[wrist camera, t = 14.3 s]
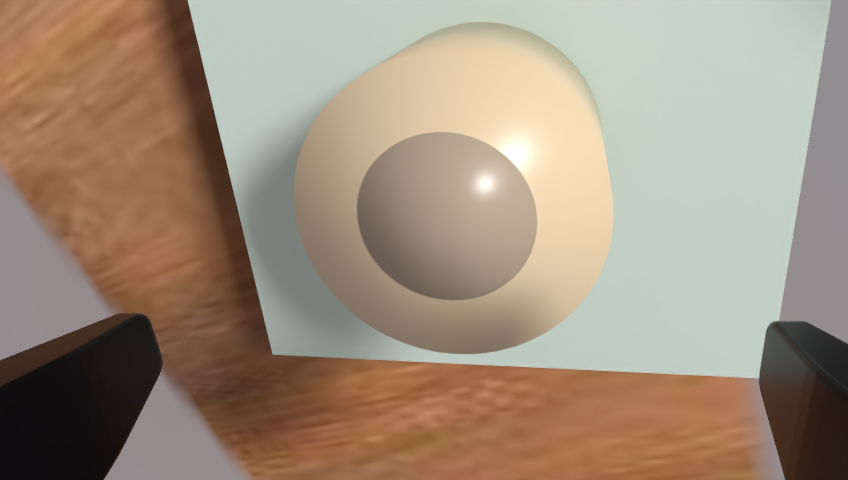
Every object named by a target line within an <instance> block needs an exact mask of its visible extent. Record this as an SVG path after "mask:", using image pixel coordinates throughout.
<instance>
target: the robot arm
mask: <svg viewBox="0 0 848 480" xmlns="http://www.w3.org/2000/svg"><path fill="white" fill-rule="evenodd" d="M161 369H162V355H161V352H160V349H159V346H158V343H157V340H156V337H155V334H154V331H153V328H152V325H151V322H150V320H149V319H148V318H147V317H146V316H145V315H143V314H138V313H121V314H116V315H114V316H111V317H109V318H106V319H104V320H101V321H99V322H96V323H94V324H91V325H88V326H86V327H84V328H81V329H79V330H76V331H74V332H71V333H68V334H66V335H63V336H61V337H58V338H56V339H53V340H51V341H48V342H46V343H43V344H40V345H38V346H35V347H33V348H30V349H28V350H25V351H23V352H20V353H18V354H15V355H13V356H10V357H7V358H5V359H2V360H0V480H104V479H105V477H106V476H107V474H108V472H109V471H110V469H111V467H112V466H113V464H114V462H115V460H116V459H117V457H118V456H119V454H120V452H121V450H122V448H123V446H124V444H125V443H126V441H127V438H128V437H129V434H130V432H131V431H132V428H133V427H134V425H135V423H136V420H137V419H138V416H139V415H140V412H141V411H142V409H143V406H144V405H145V403H146V401H147V399H148V396H149V394H150V393H151V391H152V389H153V386H154V385H155V383H156V381H157V379H158V377H159V375H160V372H161ZM759 385H760V391H761V395H762V399H763V402H764V406H765V409H766V413H767V416H768V420H769V424H770V427H771V431H772V434H773V438H774V441H775V445H776V448H777V452H778V456H779V459H780V462H781V466H782V470H783V473H784V477H785V480H848V344H847V343H845V342H843V341H841V340H840V339H838V338H836V337H834V336H832V335H830V334H828V333H827V332H825V331H823V330H821V329H819V328H817V327H815V326H813V325H811V324H810V323H808V322H804V321H773V322H771V323H770V324H769V325H768V327H767V330H766V334H765V340H764V347H763V353H762V360H761V366H760V373H759Z"/></svg>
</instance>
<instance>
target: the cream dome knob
mask: <svg viewBox="0 0 848 480" xmlns="http://www.w3.org/2000/svg"><path fill="white" fill-rule="evenodd" d="M294 209H295V216H296V223H297V226H298V230H299V234H300V237H301V241H302V243H303V246H304V248H305V251H306V253H307V255H308V258H309V260H310V261H311V263H312V265H313V267H314V269H315V270H316V272H317V274H318V275H319V277H320V278H321V279H322V281H323V282H324V284H325V285H326V287H327V288H328V289H329V290H330V291H331V293H332V294H333V295H334V296H335V297H336V298H337V299H338V300H339V301H340V303H342V304H343V305H344V306H345V307H346V308H347V309H348V310H349V311H350V312H352V313H353V314H354V315H355V316H356V317H358V318H359V319H361V320H362V321H363V322H365V323H366V324H367V325H369V326H370V327H372V328H374V329H376V330H377V331H379V332H381V333H383V334H384V335H386V336H388V337H391V338H393V339H395V340H398V341H400V342H402V343H405V344H408V345H411V346H414V347H417V348H420V349H425V350H430V351H435V352H440V353H450V354H481V353H489V352H496V351H500V350H504V349H508V348H512V347H516V346H518V345H521V344H523V343H526V342H529V341H531V340H533V339H535V338H537V337H539V336H541V335H543V334H545V333H547V332H548V331H550V330H551V329H552V328H554V327H555V326H557V325H558V324H560V323H561V322H562V321H564V320H565V319H566V318H567V317H568V316H569V315H570V314H571V313H572V312H573V311H574V310H576V309H577V308H578V306H579V305H580V304H581V303H582V301H583V300H584V299H585V298H586V297H587V295H588V294H589V293H590V291H591V289H592V288H593V286H594V284H595V283H596V281H597V279H598V278H599V276H600V273H601V271H602V269H603V266H604V264H605V261H606V259H607V255H608V252H609V248H610V244H611V240H612V231H613V221H614V215H613V197H612V190H611V184H610V177H609V171H608V164H607V157H606V151H605V144H604V138H603V131H602V125H601V120H600V115H599V110H598V107H597V104H596V101H595V98H594V96H593V93H592V92H591V90H590V88H589V86H588V84H587V82H586V80H585V79H584V77H583V76H582V74H581V73H580V71H579V70H578V69H577V67H576V66H575V65H574V64H573V63H572V62H571V61H570V60H569V59H568V57H567V56H566V55H565V54H563V53H562V52H561V51H560V50H559V49H557V48H556V47H555V46H554V45H552V44H551V43H549V42H548V41H546V40H544V39H543V38H541V37H539V36H538V35H536V34H533V33H531V32H528V31H526V30H524V29H521V28H518V27H514V26H510V25H507V24H501V23H493V22H468V23H462V24H456V25H452V26H448V27H445V28H442V29H438V30H436V31H434V32H432V33H430V34H428V35H425V36H423V37H422V38H420V39H419V40H417V41H416V42H414V43H412V44H411V45H409V46H408V47H406V48H404V49H403V50H401V51H400V52H398V53H397V54H395V55H393V56H392V57H390V58H389V59H387V60H385V61H384V62H382V63H381V64H379V65H378V66H376V67H374V68H373V69H371V70H370V71H368V72H367V73H365V74H363V75H362V76H360V77H359V78H357V79H356V80H354V81H353V82H351V83H349V84H348V85H347V86H346V87H344V88H343V89H342V90H341V91H340V92H339V93H338V94H336V95H335V96H334V97H333V98H332V99H331V100H330V101H329V103H328V104H327V105H326V106H325V107H324V108H323V110H322V111H321V112H320V113H319V115H318V116H317V118H316V120H315V121H314V123H313V124H312V126H311V128H310V129H309V131H308V133H307V136H306V138H305V140H304V142H303V145H302V147H301V150H300V154H299V157H298V161H297V165H296V171H295V178H294Z"/></svg>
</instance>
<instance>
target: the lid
mask: <svg viewBox="0 0 848 480" xmlns="http://www.w3.org/2000/svg"><path fill="white" fill-rule="evenodd" d="M831 2H832V0H188V4H189V8H190V12H191V16H192V21H193V25H194V29H195V33H196V37H197V41H198V46H199V50H200V54H201V58H202V62H203V66H204V71H205V75H206V79H207V83H208V87H209V91H210V96H211V100H212V104H213V108H214V112H215V116H216V121H217V125H218V129H219V133H220V137H221V141H222V146H223V150H224V154H225V158H226V162H227V167H228V171H229V175H230V179H231V183H232V187H233V192H234V196H235V200H236V204H237V208H238V212H239V217H240V221H241V225H242V229H243V233H244V237H245V242H246V246H247V250H248V254H249V258H250V262H251V267H252V271H253V275H254V279H255V283H256V287H257V292H258V296H259V300H260V304H261V308H262V312H263V317H264V321H265V325H266V329H267V333H268V337H269V342H270V346H271V350H272V354H273V355H291V356H311V357H332V358H353V359H373V360H394V361H414V362H435V363H456V364H476V365H497V366H517V367H538V368H559V369H579V370H600V371H620V372H641V373H662V374H682V375H703V376H723V377H744V378H759V373H760V366H761V360H762V353H763V347H764V340H765V334H766V330H767V327H768V325H769V324H770V323H771V322H773V321H779V316H780V310H781V304H782V298H783V292H784V286H785V280H786V274H787V268H788V262H789V256H790V250H791V243H792V238H793V232H794V225H795V220H796V213H797V208H798V202H799V196H800V189H801V184H802V178H803V172H804V166H805V160H806V154H807V148H808V142H809V136H810V129H811V123H812V117H813V111H814V105H815V99H816V93H817V87H818V81H819V75H820V69H821V63H822V57H823V51H824V45H825V39H826V33H827V27H828V21H829V15H830V9H831ZM468 22H493V23H501V24H507V25H510V26H514V27H518V28H521V29H524V30H526V31H528V32H531V33H533V34H536V35H538V36H539V37H541V38H543V39H544V40H546V41H548V42H549V43H551V44H552V45H554V46H555V47H556V48H557V49H559V50H560V51H561V52H562V53H563V54H565V55H566V56H567V57H568V59H569V60H570V61H571V62H572V63H573V64H574V65H575V66H576V67H577V69H578V70H579V71H580V73H581V74H582V76H583V77H584V79H585V80H586V82H587V84H588V86H589V88H590V90H591V92H592V93H593V96H594V98H595V101H596V104H597V107H598V110H599V115H600V120H601V125H602V131H603V138H604V144H605V151H606V157H607V164H608V171H609V177H610V184H611V190H612V197H613V215H614V221H613V231H612V240H611V244H610V248H609V252H608V255H607V259H606V261H605V264H604V266H603V269H602V271H601V273H600V276H599V278H598V279H597V281H596V283H595V284H594V286H593V288H592V289H591V291H590V293H589V294H588V295H587V297H586V298H585V299H584V300H583V301H582V303H581V304H580V305H579V306H578V308H577V309H576V310H574V311H573V312H572V313H571V314H570V315H569V316H568V317H567V318H566V319H565V320H564V321H562V322H561V323H560V324H558V325H557V326H555V327H554V328H552V329H551V330H550V331H548V332H547V333H545V334H543V335H541V336H539V337H537V338H535V339H533V340H531V341H529V342H526V343H523V344H521V345H518V346H516V347H512V348H508V349H504V350H500V351H496V352H489V353H481V354H450V353H440V352H435V351H430V350H425V349H420V348H417V347H414V346H411V345H408V344H405V343H402V342H400V341H398V340H395V339H393V338H391V337H388V336H386V335H384V334H383V333H381V332H379V331H377V330H376V329H374V328H372V327H370V326H369V325H367V324H366V323H365V322H363V321H362V320H361V319H359V318H358V317H356V316H355V315H354V314H353V313H352V312H350V311H349V310H348V309H347V308H346V307H345V306H344V305H343V304H342V303H340V301H339V300H338V299H337V298H336V297H335V296H334V295H333V294H332V293H331V291H330V290H329V289H328V288H327V287H326V285H325V284H324V282H323V281H322V279H321V278H320V277H319V275H318V274H317V272H316V270H315V269H314V267H313V265H312V263H311V261H310V260H309V258H308V255H307V253H306V251H305V248H304V246H303V243H302V241H301V237H300V234H299V230H298V226H297V223H296V216H295V209H294V178H295V171H296V165H297V161H298V157H299V154H300V150H301V147H302V145H303V142H304V140H305V138H306V136H307V133H308V131H309V129H310V128H311V126H312V124H313V123H314V121H315V120H316V118H317V116H318V115H319V113H320V112H321V111H322V110H323V108H324V107H325V106H326V105H327V104H328V103H329V101H330V100H331V99H332V98H333V97H334V96H335V95H336V94H338V93H339V92H340V91H341V90H342V89H343V88H344V87H346V86H347V85H348V84H349V83H351V82H353V81H354V80H356V79H357V78H359V77H360V76H362V75H363V74H365V73H367V72H368V71H370V70H371V69H373V68H374V67H376V66H378V65H379V64H381V63H382V62H384V61H385V60H387V59H389V58H390V57H392V56H393V55H395V54H397V53H398V52H400V51H401V50H403V49H404V48H406V47H408V46H409V45H411V44H412V43H414V42H416V41H417V40H419V39H420V38H422V37H423V36H425V35H428V34H430V33H432V32H434V31H436V30H438V29H442V28H445V27H448V26H452V25H456V24H462V23H468Z"/></svg>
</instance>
